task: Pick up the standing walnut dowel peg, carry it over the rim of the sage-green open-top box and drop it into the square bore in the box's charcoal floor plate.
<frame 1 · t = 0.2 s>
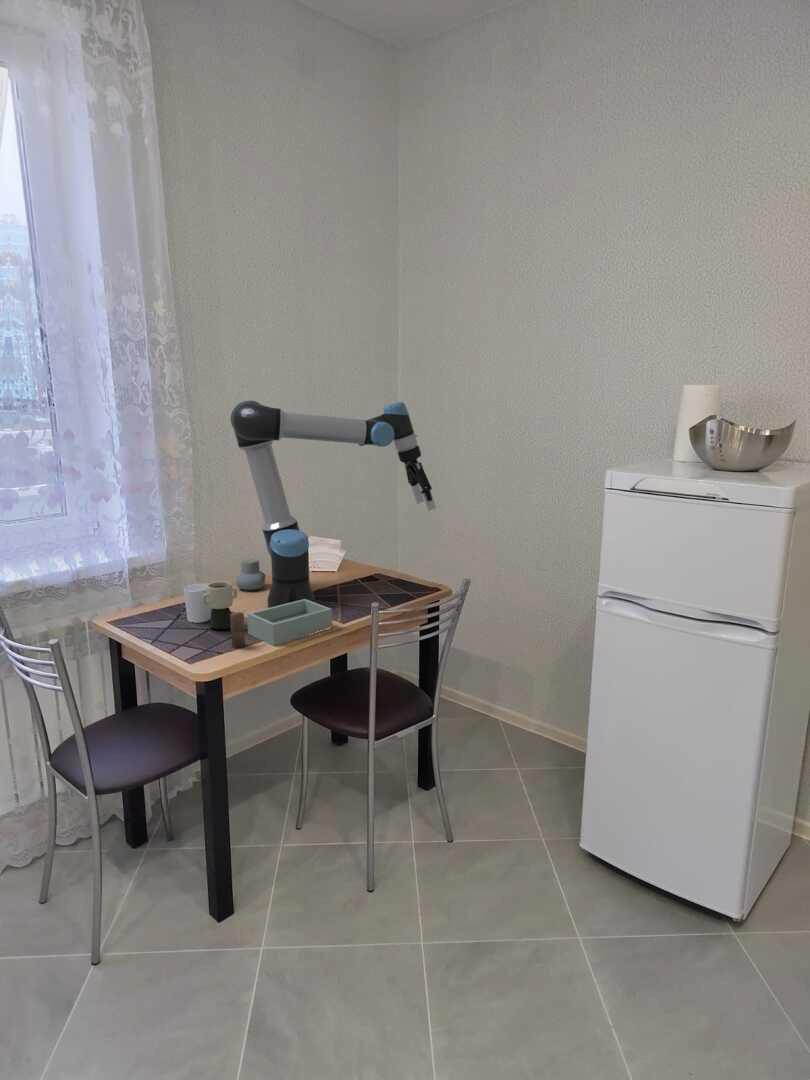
hand: (426, 505, 246), 28 cm above the table, tool tilted 20°, fingers open, 13 cm apart
air freshener: (251, 588, 245), on the table
box: (290, 631, 204), on the table
white cup: (199, 619, 213), on the table
peg: (238, 646, 192), on the table
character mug: (221, 628, 206), on the table
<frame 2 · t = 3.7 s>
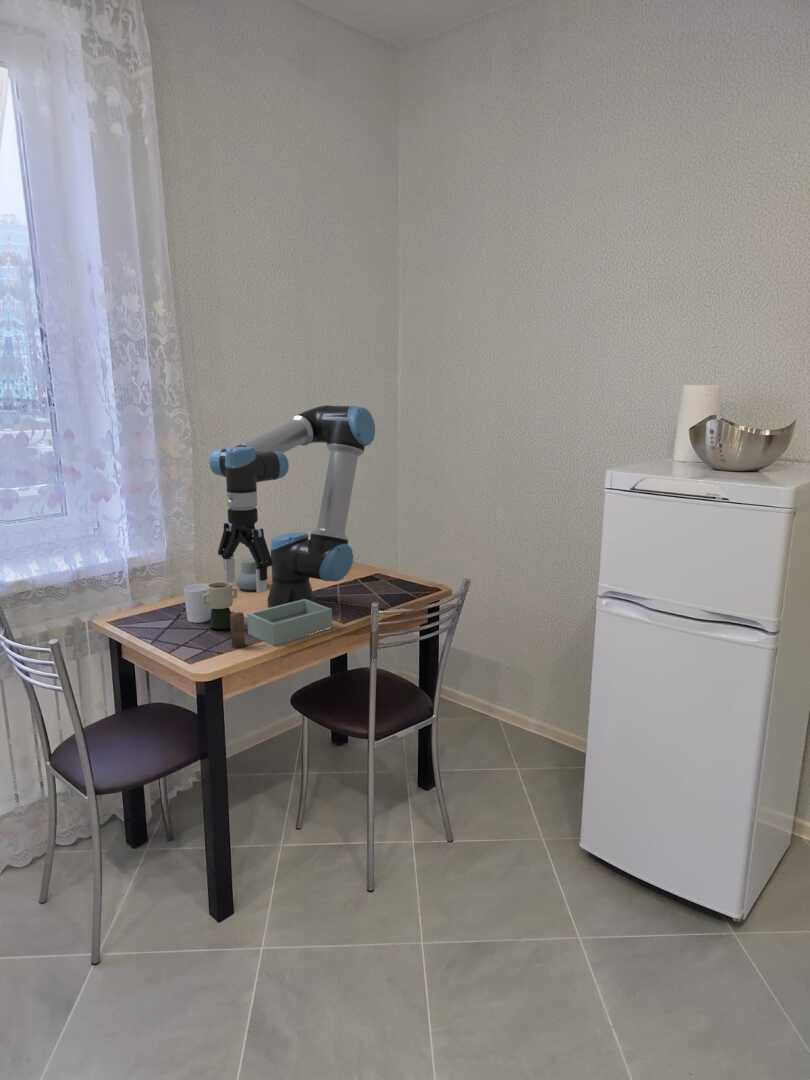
hand: (245, 587, 188), 17 cm above the table, tool pointing down, fingers open, 13 cm apart
nothing on the table moved.
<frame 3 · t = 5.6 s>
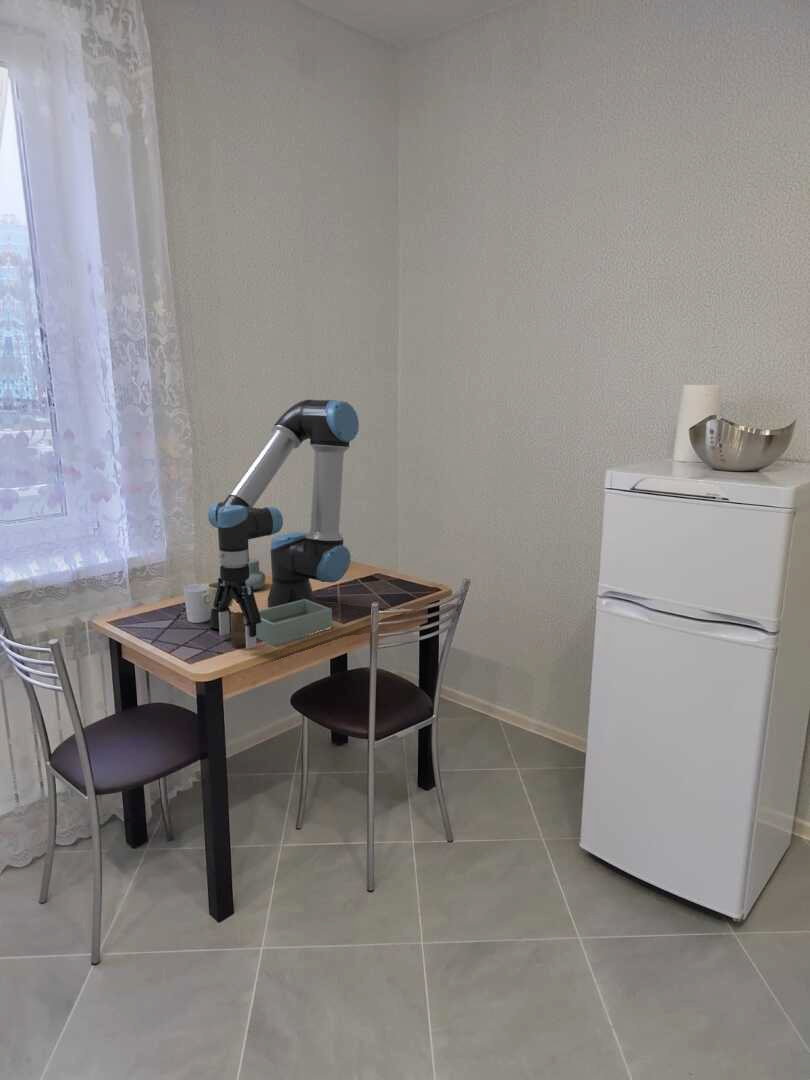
hand: (237, 640, 192), 2 cm above the table, tool pointing down, fingers open, 13 cm apart
nothing on the table moved.
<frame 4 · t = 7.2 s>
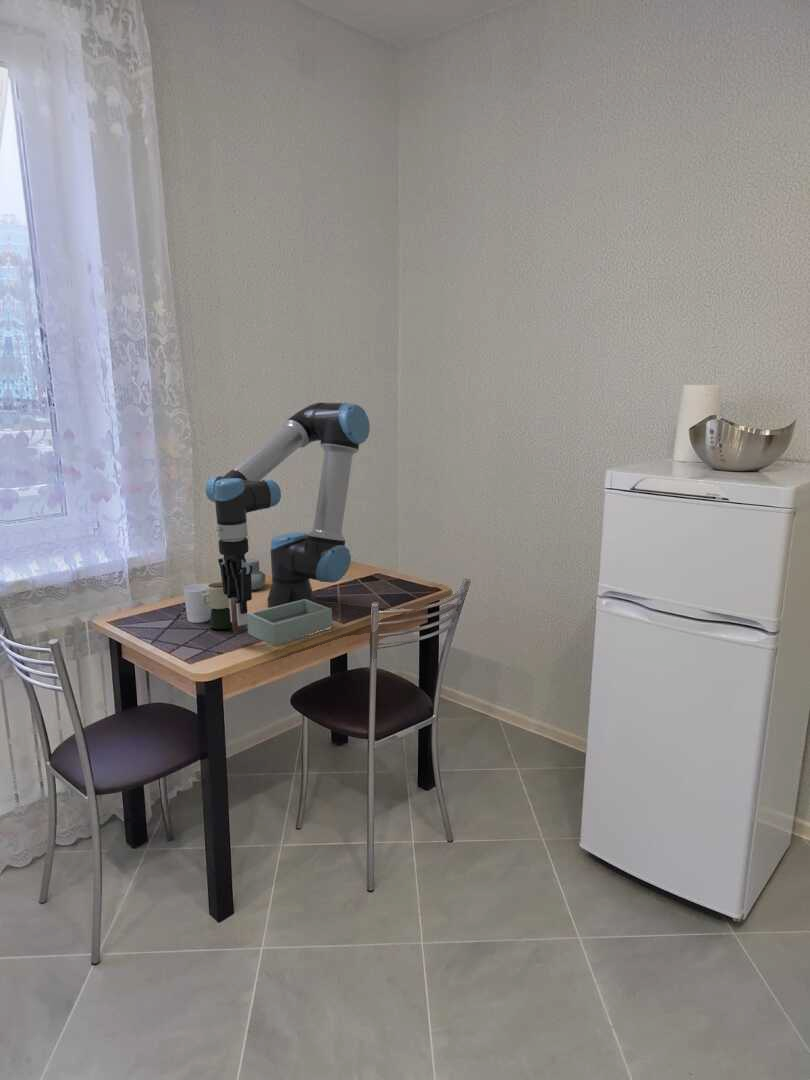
hand: (239, 622, 191), 6 cm above the table, tool pointing down, fingers closed on peg, 3 cm apart
peg: (239, 629, 192), point 4 cm above the table, touching gripper
everything else where it was.
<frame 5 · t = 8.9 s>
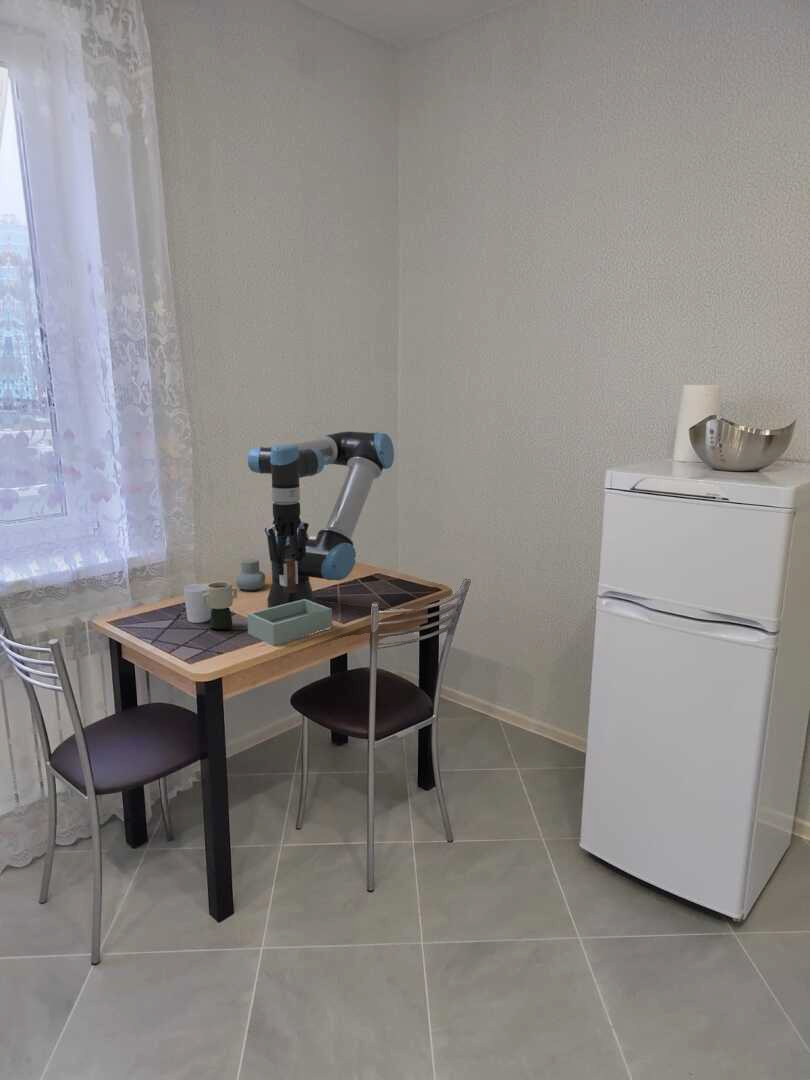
hand: (288, 583, 201), 14 cm above the table, tool pointing down, fingers closed on peg, 3 cm apart
peg: (289, 591, 201), point 12 cm above the table, touching gripper
everything else where it was.
when the fingers open (4 cm above the table, at t = 10.9 s): peg drops 2 cm, resting in box.
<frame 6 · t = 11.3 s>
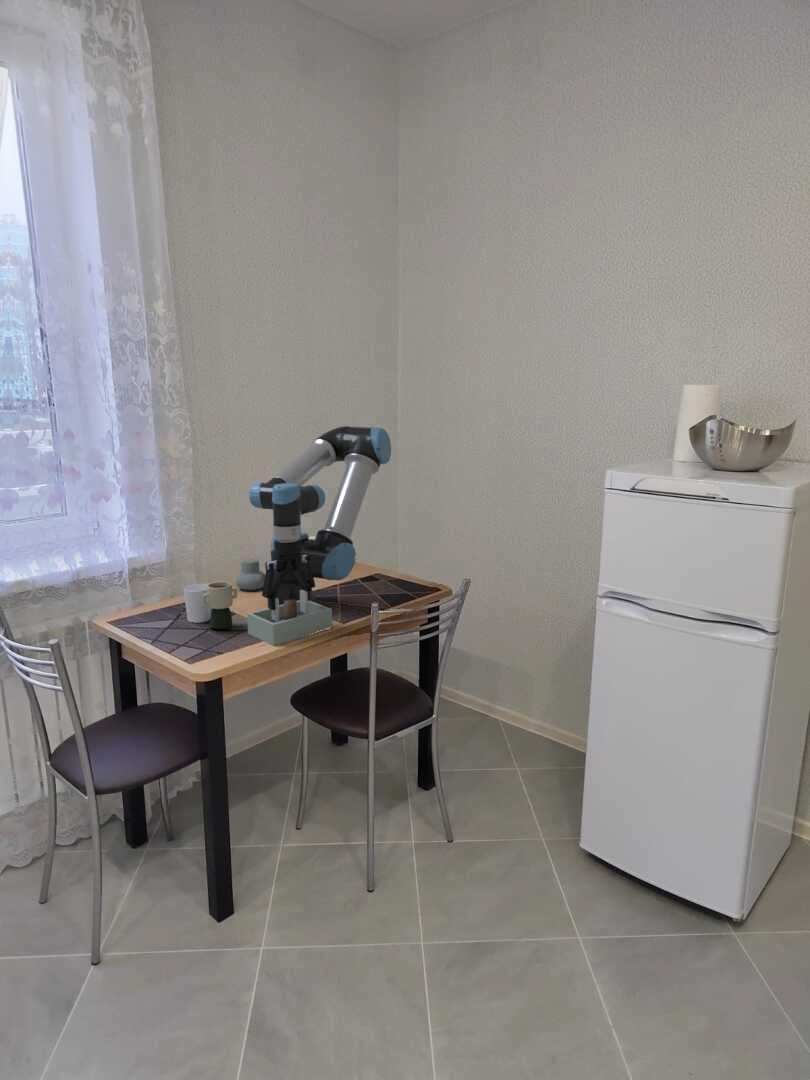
hand: (290, 616, 203), 5 cm above the table, tool pointing down, fingers open, 9 cm apart
peg: (291, 631, 204), resting in box
everything else where it was.
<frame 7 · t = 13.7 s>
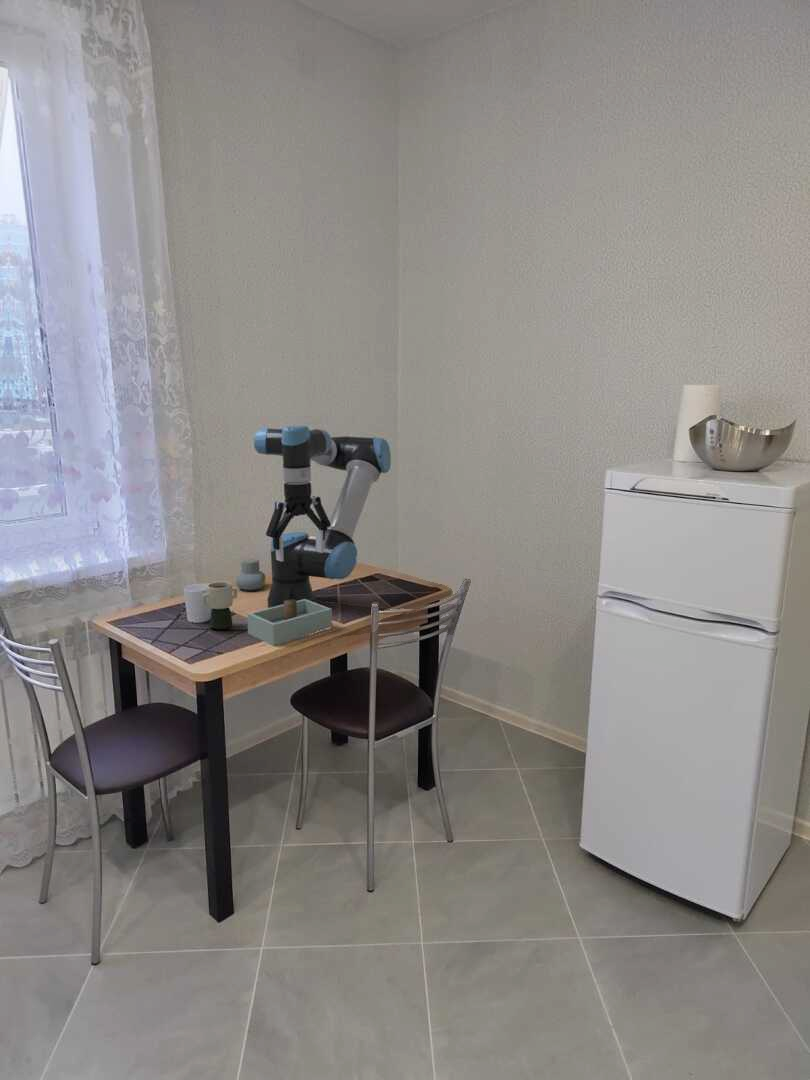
hand: (300, 556, 202), 21 cm above the table, tool pointing down, fingers open, 13 cm apart
nothing on the table moved.
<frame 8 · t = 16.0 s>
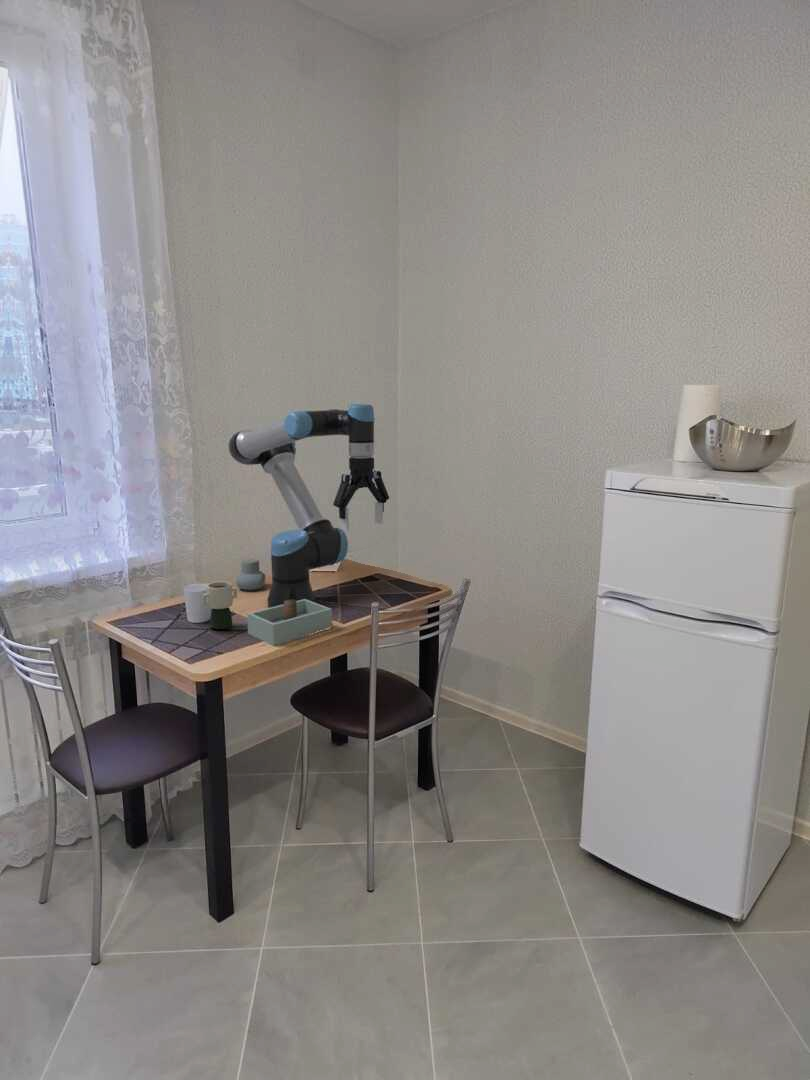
hand: (362, 526, 217), 27 cm above the table, tool pointing down, fingers open, 13 cm apart
nothing on the table moved.
at the end: peg 0.2 cm from the box (horizontally); peg resting in box; peg tilted 0° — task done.
